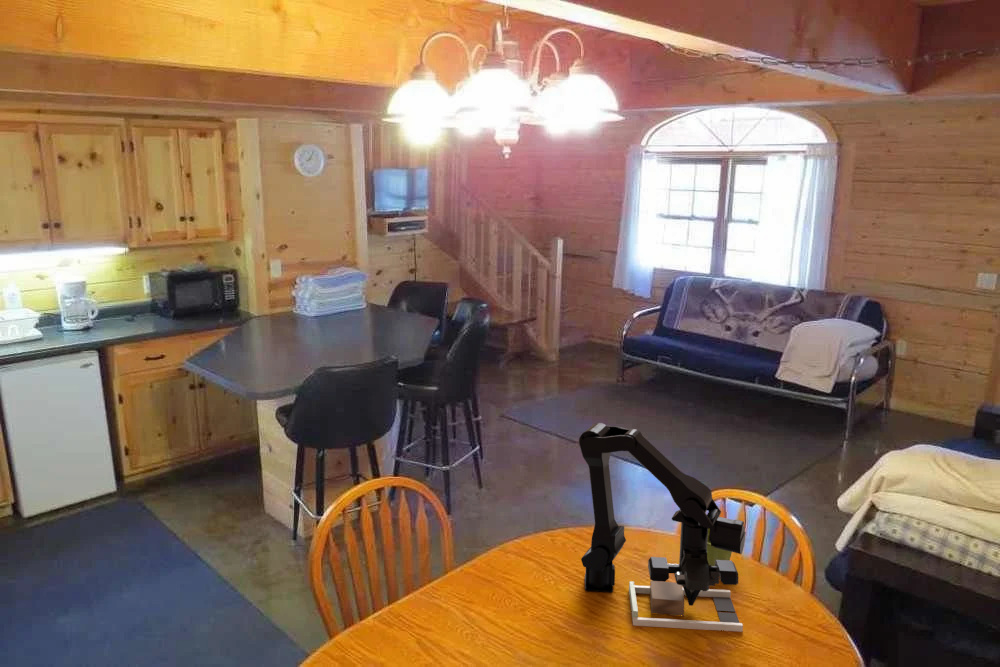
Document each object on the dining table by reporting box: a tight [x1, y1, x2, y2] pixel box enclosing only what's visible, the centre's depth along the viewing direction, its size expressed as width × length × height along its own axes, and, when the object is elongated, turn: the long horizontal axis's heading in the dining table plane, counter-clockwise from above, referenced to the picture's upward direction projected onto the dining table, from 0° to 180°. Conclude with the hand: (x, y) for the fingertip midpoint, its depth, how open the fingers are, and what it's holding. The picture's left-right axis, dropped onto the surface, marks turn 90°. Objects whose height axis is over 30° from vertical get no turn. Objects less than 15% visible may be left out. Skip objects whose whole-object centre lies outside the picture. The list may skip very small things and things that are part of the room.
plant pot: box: [707, 528, 733, 566], centre depth 171 cm, size 9×9×9 cm
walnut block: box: [649, 580, 686, 617], centre depth 157 cm, size 7×7×4 cm
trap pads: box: [712, 597, 740, 623], centre depth 154 cm, size 4×11×1 cm, turn 174°
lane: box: [628, 581, 744, 633], centre depth 155 cm, size 23×13×3 cm, turn 84°
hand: (690, 604), depth 155 cm, fingers closed
